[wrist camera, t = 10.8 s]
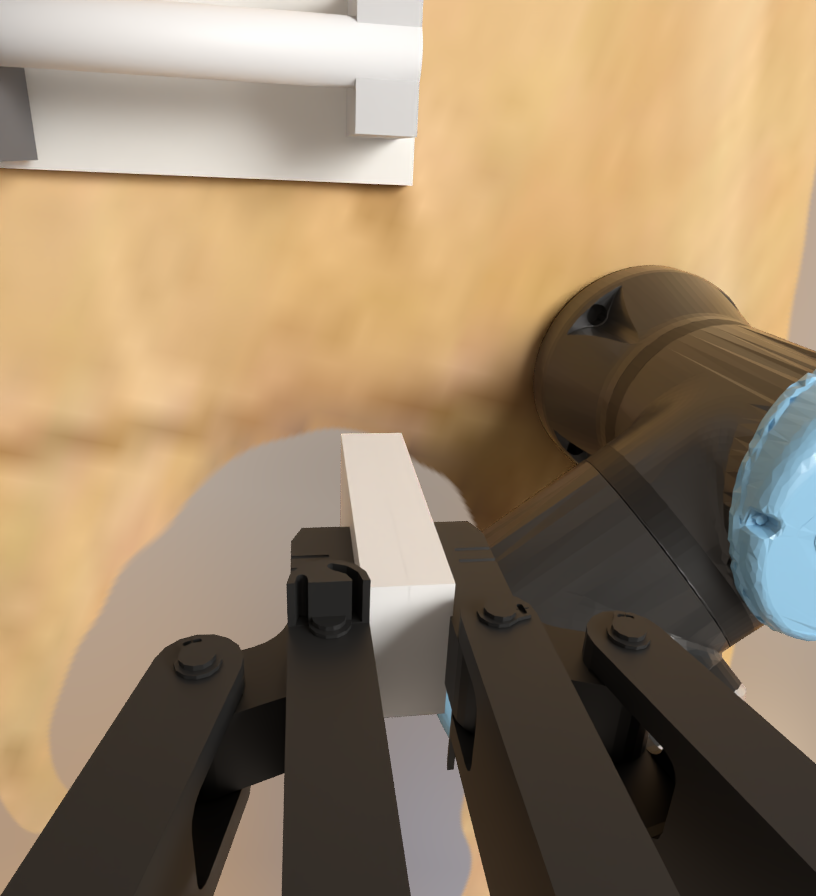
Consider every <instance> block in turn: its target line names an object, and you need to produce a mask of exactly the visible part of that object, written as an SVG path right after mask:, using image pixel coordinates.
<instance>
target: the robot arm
mask: <svg viewBox="0 0 816 896" xmlns="http://www.w3.org/2000/svg"><path fill="white" fill-rule="evenodd" d="M533 390H534V399H535V405H536V409H537V412H538V415H539V418H540V420H541V422H542V424H543V426H544V428H545V430H546V431H547V433H548V434H549V436H550V437H551V438H552V440H553V441H554V442H555V443H556V444H557V445H558V446H559V448H560V449H561V450H562V451H563V452H564V453H565V454H566V455H567V456H568V457H569V458H570V459H572V460H573V461H574V462H575V463H577V465H576V466H575V467H573V468H572V469H570V470H569V471H568V472H566V473H565V474H563V475H562V476H560V477H559V478H558V479H556V480H555V481H553V482H552V483H551V484H549V485H548V486H546V487H545V488H543V489H542V490H541V491H539V492H538V493H536V494H535V495H534V496H532V497H531V498H529V499H528V500H526V501H525V502H524V503H522V504H521V505H519V506H518V507H517V508H515V509H514V510H512V511H511V512H509V513H508V514H507V515H505V516H504V517H502V518H501V519H500V520H498V521H497V522H495V523H494V524H492V525H491V526H490V527H488V528H487V529H485V530H484V531H483V532H481V531H480V530H478V529H477V528H476V527H474V526H473V525H472V524H471V523H469V522H468V521H457V522H433V520H432V517H431V514H430V511H429V508H428V506H427V503H426V500H425V497H424V494H423V492H422V489H421V486H420V483H419V481H418V478H417V475H416V472H415V469H414V467H413V464H412V461H411V458H410V455H409V453H408V450H407V447H406V444H405V441H404V439H403V436H402V433H351V434H341V512H340V515H341V516H340V517H341V518H340V527H321V528H302V529H301V530H300V531H299V532H298V534H297V535H296V536H295V538H294V539H293V540H292V541H291V574H290V576H289V579H288V581H287V614H288V623H287V625H286V626H285V628H284V629H283V630H282V631H281V632H280V633H279V634H278V635H277V636H276V637H274V638H272V639H271V640H269V641H268V642H266V643H263V644H261V645H258V646H255V647H252V648H248V649H245V650H240V647H239V645H237V644H236V643H235V642H233V641H232V640H230V639H228V638H226V637H222V636H218V635H195V636H191V637H187V638H184V639H180V640H178V641H176V642H175V643H173V644H171V645H169V646H167V647H165V648H164V649H163V651H162V652H160V653H159V655H158V656H157V657H156V658H155V659H154V660H153V662H152V664H151V665H150V667H149V668H148V670H147V671H146V673H145V674H144V676H143V677H142V679H141V680H140V682H139V684H138V685H137V687H136V688H135V690H134V691H133V693H132V694H131V696H130V697H129V699H128V700H127V702H126V703H125V705H124V707H123V708H122V710H121V711H120V713H119V714H118V716H117V717H116V719H115V721H114V722H113V724H112V725H111V727H110V728H109V730H108V731H107V733H106V734H105V736H104V738H103V739H102V740H101V742H100V743H99V745H98V747H97V748H96V750H95V751H94V753H93V754H92V756H91V758H90V759H89V760H88V762H87V763H86V765H85V767H84V768H83V770H82V771H81V773H80V774H79V776H78V777H77V779H76V780H75V782H74V783H73V785H72V787H71V788H70V790H69V791H68V793H67V794H66V796H65V797H64V799H63V800H62V802H61V803H60V805H59V806H58V808H57V810H56V811H55V813H54V814H53V816H52V817H51V819H50V820H49V822H48V823H47V825H46V826H45V828H44V830H43V831H42V833H41V834H40V836H39V837H38V839H37V840H36V842H35V843H34V845H33V847H32V848H31V850H30V851H29V853H28V854H27V856H26V857H25V859H24V860H23V862H22V863H21V865H20V866H19V868H18V870H17V871H16V873H15V874H14V876H13V877H12V879H11V880H10V882H9V883H8V885H7V887H6V888H5V890H4V891H3V893H2V894H1V896H213V895H214V892H215V889H216V886H217V883H218V881H219V878H220V875H221V872H222V870H223V867H224V864H225V861H226V859H227V856H228V853H229V850H230V848H231V845H232V842H233V839H234V836H235V834H236V831H237V828H238V825H239V823H240V820H241V817H242V814H243V811H244V809H245V806H246V803H247V801H248V798H249V794H250V786H251V785H254V784H256V783H259V782H262V781H264V780H267V779H270V778H272V777H275V776H277V775H280V774H283V773H285V776H284V777H285V778H284V820H283V821H284V822H283V823H284V824H283V864H282V896H411V895H410V888H409V882H408V875H407V868H406V862H405V855H404V848H403V842H402V835H401V829H400V822H399V815H398V809H397V802H396V795H395V788H394V782H393V775H392V769H391V762H390V755H389V749H388V742H387V735H386V729H385V722H384V718H388V717H401V716H416V715H429V714H437V715H438V718H439V720H440V722H441V724H442V726H443V728H444V730H445V732H446V733H447V735H448V737H449V745H448V757H447V770H451V769H454V759H455V757H456V761H457V765H458V769H459V773H460V777H461V781H462V785H463V789H464V793H465V797H466V801H467V805H468V809H469V813H470V817H471V821H472V825H473V829H474V833H475V837H476V841H477V845H478V849H479V853H480V857H481V861H482V865H483V869H484V872H485V876H486V880H487V884H488V888H489V892H490V896H816V764H815V763H814V762H813V761H812V760H810V759H809V758H808V757H807V756H806V755H805V754H804V753H803V752H802V751H800V750H799V749H798V748H797V747H796V746H795V745H794V744H792V743H791V742H790V741H789V740H788V739H787V738H786V737H784V736H783V735H782V734H781V733H780V732H779V731H778V730H776V729H775V728H774V727H773V726H772V725H771V724H770V723H769V722H767V721H766V720H765V719H764V718H763V717H762V716H761V715H759V714H758V713H757V712H756V711H755V710H754V709H752V708H751V707H750V706H749V705H748V704H747V703H746V702H745V697H746V688H745V687H744V685H743V684H742V683H741V682H740V680H739V679H738V678H737V676H736V675H735V674H734V672H733V671H732V670H731V669H730V667H729V666H728V665H727V663H726V662H725V661H724V660H723V658H722V652H723V651H725V650H726V649H728V648H729V647H731V646H732V645H734V644H735V643H737V642H738V641H740V640H741V639H743V638H744V637H746V636H748V635H749V634H751V633H752V632H754V631H755V630H757V629H759V628H760V627H762V626H763V625H767V626H768V627H770V628H771V629H772V630H773V631H778V632H780V633H783V634H785V635H788V636H791V637H793V638H796V639H801V640H806V641H816V351H814V350H811V349H808V348H805V347H803V346H800V345H798V344H795V343H792V342H790V341H787V340H785V339H782V338H779V337H777V336H774V335H771V334H769V333H766V332H763V331H761V330H758V329H755V328H752V327H751V326H750V325H749V323H748V322H747V321H746V320H745V318H744V317H743V316H742V315H741V314H740V312H739V310H738V309H737V307H736V306H735V304H734V303H733V301H732V300H731V299H730V298H729V297H728V296H727V295H726V294H725V293H724V292H723V291H722V290H721V289H719V288H718V287H717V286H715V285H714V284H712V283H711V282H709V281H707V280H705V279H704V278H701V277H699V276H697V275H694V274H691V273H688V272H685V271H682V270H678V269H675V268H671V267H665V266H655V265H649V266H637V267H631V268H627V269H623V270H620V271H617V272H614V273H612V274H609V275H607V276H605V277H603V278H601V279H599V280H597V281H595V282H594V283H592V284H591V285H589V286H588V287H586V288H585V289H583V290H582V291H581V292H580V293H578V294H577V295H576V296H575V297H574V298H573V299H572V300H571V301H570V302H569V303H568V304H567V305H566V306H565V307H564V308H563V309H562V310H561V312H560V313H559V314H558V316H557V317H556V318H555V320H554V321H553V323H552V324H551V326H550V328H549V329H548V331H547V333H546V335H545V337H544V339H543V341H542V344H541V347H540V349H539V352H538V356H537V359H536V364H535V370H534V379H533Z"/></svg>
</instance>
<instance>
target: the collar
mask: <svg viewBox="0 0 816 896" xmlns="http://www.w3.org/2000/svg"><path fill="white" fill-rule="evenodd" d="M29 160H38V156H37V149H36V143H35V136H34V130H33V123H32V117H31V110H30V103H29V97H28V90H27V84H26V77H25V70H24V68H21V67H5V66H0V162H3V161H29Z"/></svg>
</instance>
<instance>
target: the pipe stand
mask: <svg viewBox="0 0 816 896" xmlns="http://www.w3.org/2000/svg"><path fill="white" fill-rule="evenodd" d="M422 16H423V0H0V66H5V67H21V68H24V70H25V77H26V84H27V90H28V97H29V103H30V110H31V117H32V123H33V130H34V136H35V143H36V149H37V156H38V160H29V161H3V162H0V168H16V169H39V170H63V171H86V172H109V173H132V174H156V175H179V176H202V177H225V178H248V179H272V180H295V181H318V182H341V183H365V184H388V185H411V186H412V184H413V162H414V139H415V137H417V124H418V102H419V81H420V75H421V66H422V51H423V34H422Z"/></svg>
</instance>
